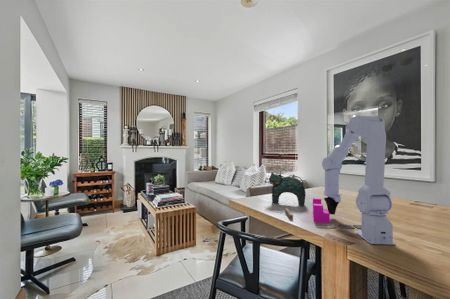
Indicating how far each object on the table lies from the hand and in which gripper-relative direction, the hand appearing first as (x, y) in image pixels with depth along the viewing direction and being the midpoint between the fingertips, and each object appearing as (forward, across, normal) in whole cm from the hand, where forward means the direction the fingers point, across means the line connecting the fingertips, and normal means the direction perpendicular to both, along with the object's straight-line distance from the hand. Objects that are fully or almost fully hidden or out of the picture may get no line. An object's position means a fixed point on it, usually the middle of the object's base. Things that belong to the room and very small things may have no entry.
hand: (331, 214), depth 100 cm
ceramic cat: (+2, +25, +15) cm, 29 cm away
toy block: (+2, +1, +5) cm, 5 cm away
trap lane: (+2, -3, +5) cm, 6 cm away
